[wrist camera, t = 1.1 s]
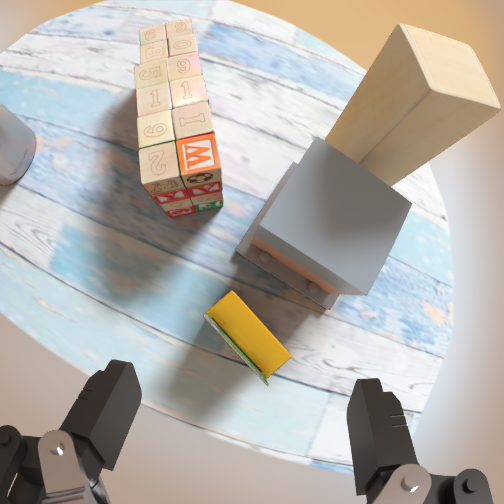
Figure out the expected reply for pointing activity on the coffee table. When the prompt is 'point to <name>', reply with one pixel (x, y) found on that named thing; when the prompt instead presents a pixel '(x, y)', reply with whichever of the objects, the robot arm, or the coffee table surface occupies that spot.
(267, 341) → the crayon box
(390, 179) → the tall beige wooden block
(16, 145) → the robot arm
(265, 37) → the coffee table surface
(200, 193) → the stack of blocks
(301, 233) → the two-tone cube on base
